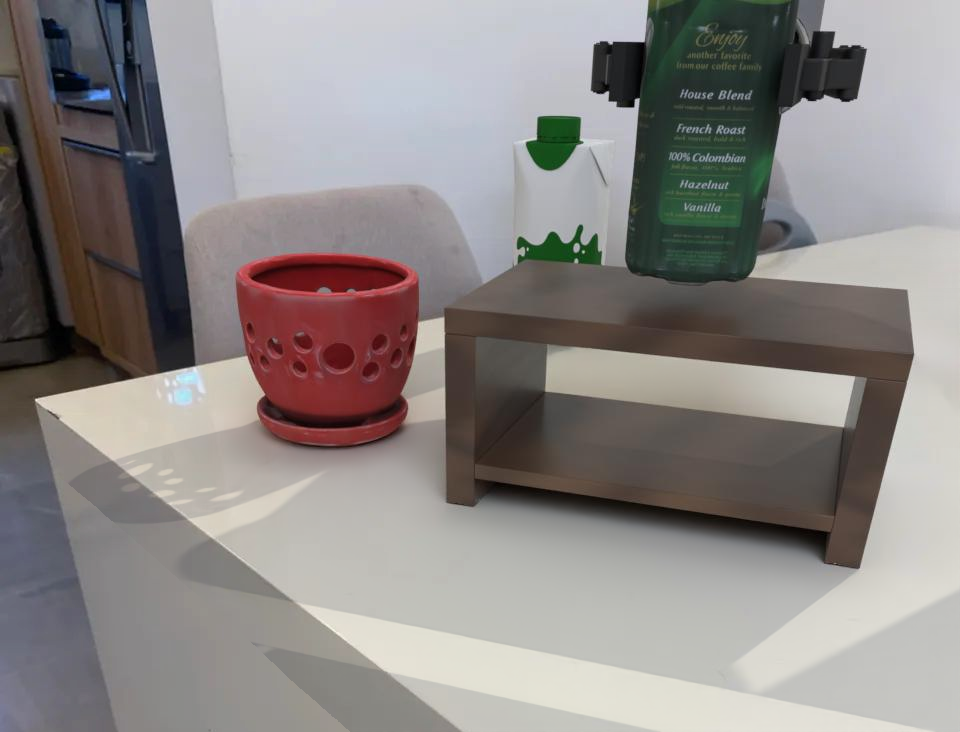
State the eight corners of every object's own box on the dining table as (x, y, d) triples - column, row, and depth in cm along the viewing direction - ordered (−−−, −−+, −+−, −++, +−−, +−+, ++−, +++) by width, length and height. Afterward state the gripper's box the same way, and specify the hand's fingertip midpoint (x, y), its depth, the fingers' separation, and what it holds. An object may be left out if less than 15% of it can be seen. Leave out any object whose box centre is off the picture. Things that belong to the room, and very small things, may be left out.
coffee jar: (759, 293, 53) (827, -131, 43) (618, 286, 54) (652, -128, 44) (753, 260, 61) (809, -105, 51) (629, 254, 62) (661, -102, 52)
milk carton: (500, 338, 97) (504, 116, 86) (533, 319, 104) (541, 111, 93) (581, 349, 94) (596, 120, 83) (609, 328, 101) (626, 114, 90)
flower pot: (228, 454, 69) (204, 283, 63) (284, 398, 80) (268, 247, 74) (403, 465, 68) (397, 291, 61) (435, 406, 79) (433, 254, 72)
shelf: (863, 470, 68) (907, 289, 61) (859, 568, 55) (914, 353, 48) (519, 425, 75) (525, 258, 68) (445, 502, 62) (443, 307, 56)
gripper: (895, 132, 65) (900, 165, 47) (601, 121, 71) (505, 147, 53) (924, 1, 61) (941, -17, 43) (610, 1, 67) (509, -15, 49)
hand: (701, 73), depth 48 cm, fingers closed on coffee jar, 8 cm apart
